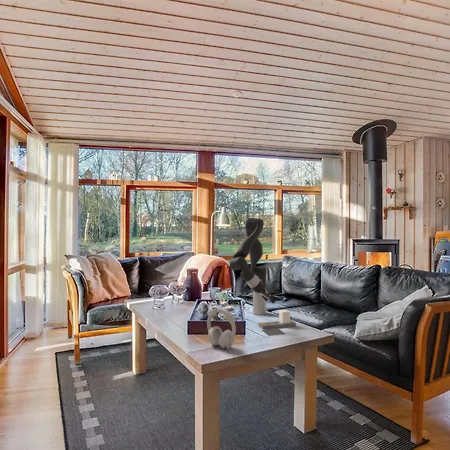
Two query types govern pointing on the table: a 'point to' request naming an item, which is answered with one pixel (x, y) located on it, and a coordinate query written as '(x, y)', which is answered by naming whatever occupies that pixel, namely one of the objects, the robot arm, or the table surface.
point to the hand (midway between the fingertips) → (270, 301)
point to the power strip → (275, 324)
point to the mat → (273, 332)
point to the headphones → (216, 333)
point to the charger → (284, 316)
